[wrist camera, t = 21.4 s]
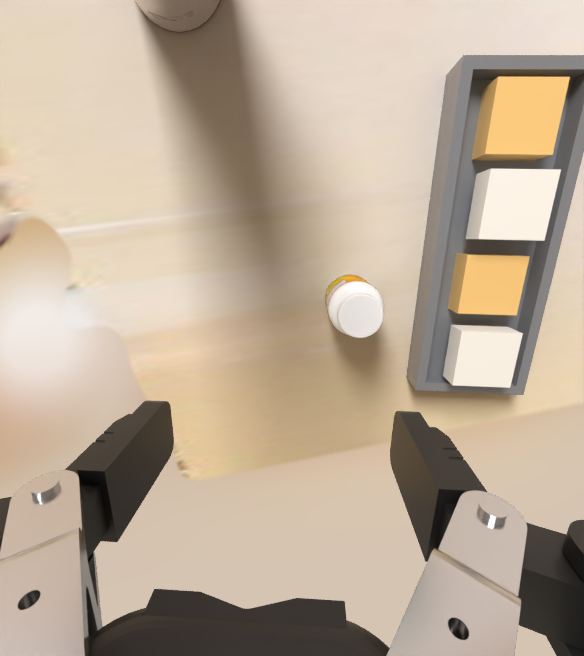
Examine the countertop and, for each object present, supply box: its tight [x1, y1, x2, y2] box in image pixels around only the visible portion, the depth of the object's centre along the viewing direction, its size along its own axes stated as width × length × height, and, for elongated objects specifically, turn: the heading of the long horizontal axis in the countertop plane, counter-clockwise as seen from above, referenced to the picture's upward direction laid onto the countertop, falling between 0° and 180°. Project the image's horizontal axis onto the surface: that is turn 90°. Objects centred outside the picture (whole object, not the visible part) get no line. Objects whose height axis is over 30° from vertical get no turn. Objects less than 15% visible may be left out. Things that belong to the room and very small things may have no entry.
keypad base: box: [407, 55, 584, 395], centre depth 33 cm, size 32×12×4 cm, turn 179°
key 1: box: [472, 77, 570, 161], centre depth 29 cm, size 6×6×2 cm
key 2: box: [466, 169, 561, 241], centre depth 30 cm, size 6×6×2 cm
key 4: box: [443, 325, 523, 388], centre depth 34 cm, size 6×6×2 cm
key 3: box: [448, 253, 530, 315], centre depth 33 cm, size 6×6×2 cm
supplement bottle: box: [325, 274, 384, 338], centre depth 33 cm, size 5×5×10 cm
